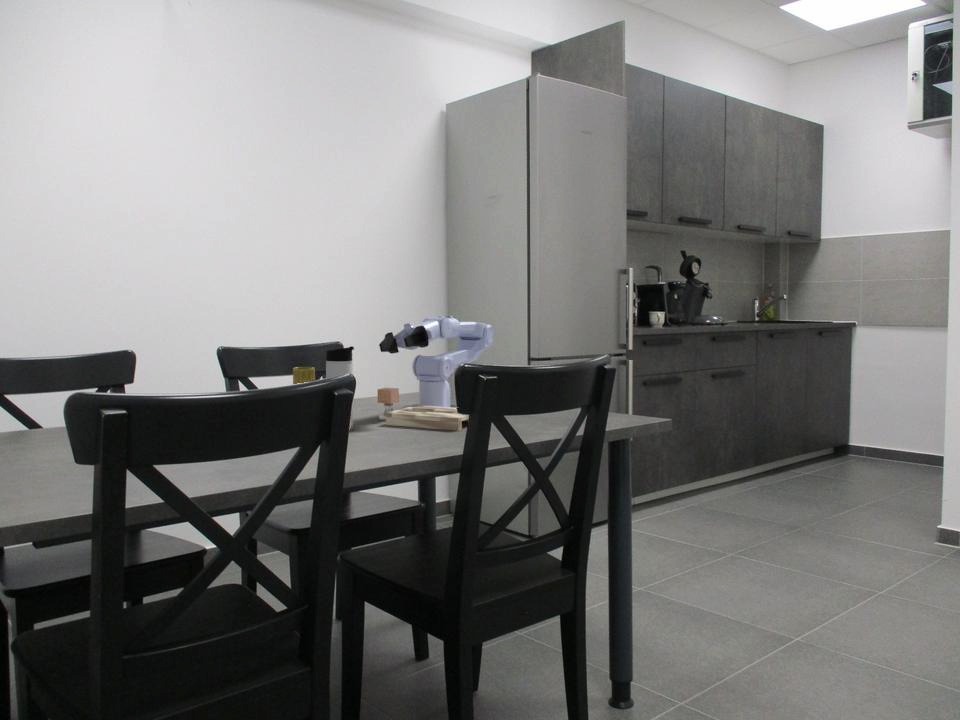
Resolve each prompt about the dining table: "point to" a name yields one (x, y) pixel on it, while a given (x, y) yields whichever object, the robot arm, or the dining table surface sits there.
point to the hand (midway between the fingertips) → (393, 345)
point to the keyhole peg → (387, 400)
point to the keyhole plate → (427, 417)
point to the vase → (303, 374)
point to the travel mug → (340, 365)
